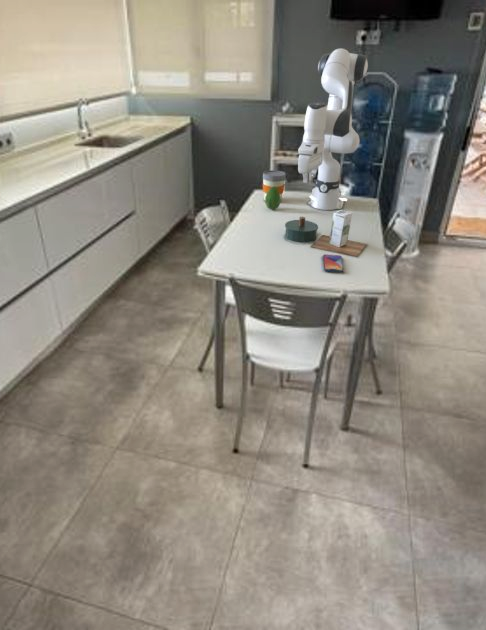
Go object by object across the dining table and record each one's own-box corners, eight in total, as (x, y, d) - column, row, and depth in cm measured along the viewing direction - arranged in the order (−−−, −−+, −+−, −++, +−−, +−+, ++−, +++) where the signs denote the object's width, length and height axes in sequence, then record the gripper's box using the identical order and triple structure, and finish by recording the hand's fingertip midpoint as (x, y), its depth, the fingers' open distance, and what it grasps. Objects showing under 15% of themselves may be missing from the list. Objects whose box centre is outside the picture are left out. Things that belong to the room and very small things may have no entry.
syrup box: (335, 240, 198) (340, 208, 191) (347, 244, 195) (352, 212, 187) (328, 244, 195) (333, 211, 187) (340, 248, 191) (345, 215, 184)
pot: (292, 230, 210) (293, 219, 207) (319, 236, 205) (321, 225, 202) (280, 239, 200) (281, 228, 197) (309, 246, 194) (310, 234, 192)
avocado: (276, 206, 240) (277, 184, 234) (282, 211, 234) (283, 188, 228) (262, 207, 238) (263, 185, 232) (267, 212, 232) (269, 189, 225)
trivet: (322, 236, 205) (322, 234, 204) (366, 244, 196) (366, 243, 196) (311, 247, 193) (311, 245, 193) (357, 257, 185) (357, 255, 185)
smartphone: (341, 257, 184) (341, 255, 184) (343, 273, 172) (343, 270, 171) (322, 256, 185) (323, 254, 185) (323, 271, 172) (324, 269, 172)
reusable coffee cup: (268, 195, 256) (270, 169, 248) (288, 200, 250) (290, 172, 242) (256, 201, 247) (258, 173, 240) (276, 205, 241) (278, 177, 234)
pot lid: (292, 220, 208) (293, 210, 206) (322, 226, 202) (323, 215, 200) (279, 229, 197) (280, 219, 195) (311, 236, 191) (312, 225, 189)
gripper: (314, 140, 194) (310, 173, 201) (296, 149, 178) (293, 184, 186) (328, 142, 191) (324, 175, 198) (311, 151, 176) (308, 186, 183)
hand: (309, 179), depth 192 cm, fingers open, 8 cm apart
